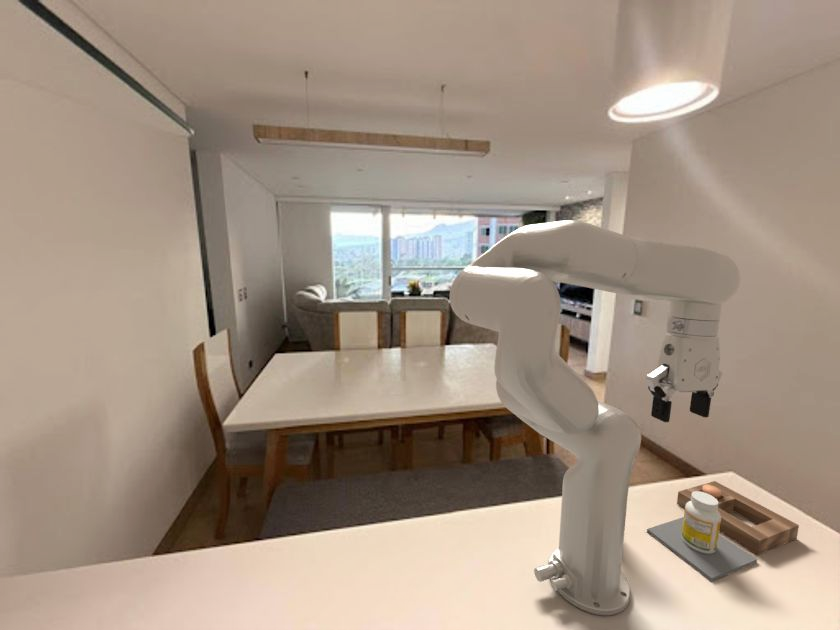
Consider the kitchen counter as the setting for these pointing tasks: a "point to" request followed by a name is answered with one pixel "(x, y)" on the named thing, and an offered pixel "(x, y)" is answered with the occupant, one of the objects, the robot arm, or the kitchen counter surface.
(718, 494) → the peach rounded piece
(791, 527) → the housing
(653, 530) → the pad
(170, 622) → the kitchen counter surface
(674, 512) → the kitchen counter surface
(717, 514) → the supplement bottle
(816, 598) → the kitchen counter surface
